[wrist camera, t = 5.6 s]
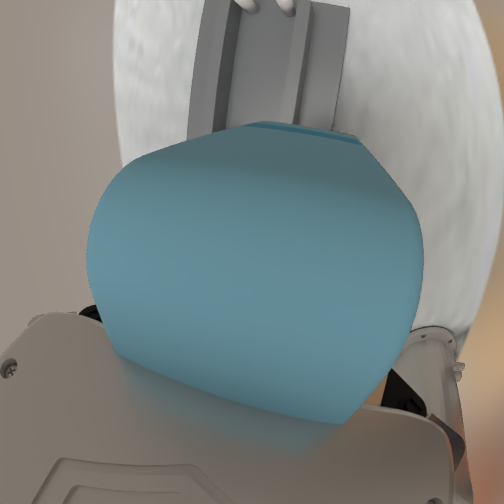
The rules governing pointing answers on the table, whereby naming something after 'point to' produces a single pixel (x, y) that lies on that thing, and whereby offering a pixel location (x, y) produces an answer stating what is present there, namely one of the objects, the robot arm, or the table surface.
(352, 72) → the table surface
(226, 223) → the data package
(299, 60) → the tray
